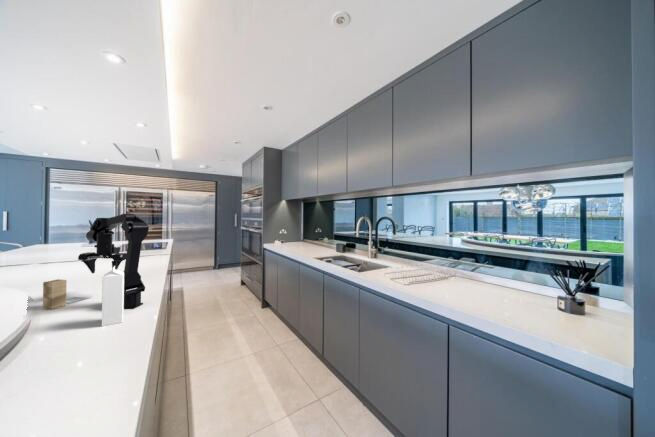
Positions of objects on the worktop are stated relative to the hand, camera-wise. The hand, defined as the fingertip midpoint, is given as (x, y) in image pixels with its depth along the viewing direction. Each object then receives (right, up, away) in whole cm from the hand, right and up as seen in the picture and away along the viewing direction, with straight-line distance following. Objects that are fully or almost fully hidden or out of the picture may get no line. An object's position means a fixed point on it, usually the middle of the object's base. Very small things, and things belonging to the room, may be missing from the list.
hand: (103, 273), depth 120 cm
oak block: (-10, -13, -13) cm, 21 cm away
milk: (+28, -14, -26) cm, 40 cm away
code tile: (-12, -13, -4) cm, 18 cm away
